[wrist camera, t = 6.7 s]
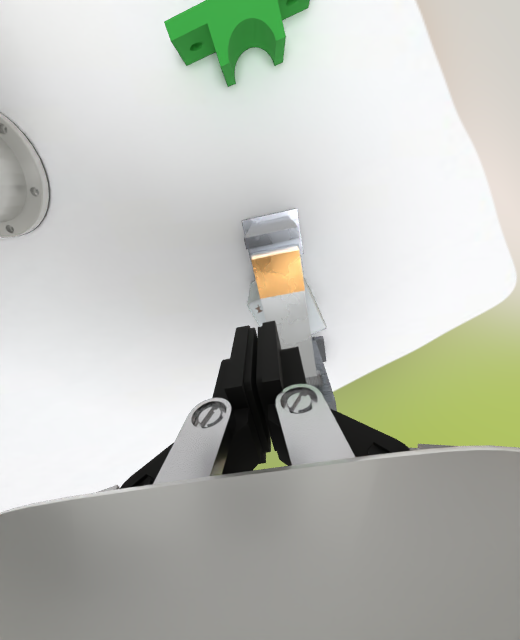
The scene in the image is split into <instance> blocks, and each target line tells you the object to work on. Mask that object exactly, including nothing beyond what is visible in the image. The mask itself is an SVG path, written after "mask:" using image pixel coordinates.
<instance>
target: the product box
mask: <svg viewBox="0 0 520 640" xmlns="http://www.w3.org/2000/svg"><path fill="white" fill-rule="evenodd" d="M303 280H304V287H305V297H306V304H307V311H308V318H309V325H310V331H311V335H312V334H314V333H317V332H319V331H321V330H324V329H326V325H325V322H324V320H323V317H322V315H321V313H320V311H319V308H318V306H317V304H316V302H315V300H314V297H313V295H312V293H311V291H310V289H309V287H308V285H307V283H306V281H305V279H304V277H303ZM247 306H248V308H249V310H250V311H251V313H252V315H253V316H254V318H255V320H256V321H257V323H258V325H259V326H260V327H261V326H262V323H264V322H266V319H265V315H264V310H263V306H262V301H261V299H260V296H259V291H258V287H257V283H256V281H254V282H252V283H251V285H250V291H249V298H248V304H247Z"/></svg>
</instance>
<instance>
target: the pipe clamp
mask: <svg viewBox="0 0 520 640" xmlns="http://www.w3.org/2000/svg"><path fill="white" fill-rule="evenodd" d="M309 1H310V0H206V1H204V2H202V3H200V4H198V5H196V6H194V7H192V8H190V9H188V10H186V11H184V12H182V13H180V14H178V15H176V16H174V17H173V18H171V19H169V20H167V21H165V22H164V23H165V26H166V28H167V31H168V34H169V37H170V40H171V42H172V43H173V45H174V47H175V48H176V50H177V51H178V53H179V54H180V56H181V58H182V59H183V61H184V62H185V64H186V65H189V64H192V63H194V62H196V61H198V60H200V59H202V58H204V57H206V56H208V55H210V54H213V53H215V52H216V53H217V56H218V60H219V63H220V66H221V69H222V72H223V74H224V77H225V80H226V82H227V85H228V87H229V86H231V85H233V84H236V83H235V76H234V71H235V65H236V62H237V60H238V58H239V56H240V55H241V54H242V53H243V52H244V51H245V50H247V49H249V48H252V47H258V48H261V49H263V50H265V51H266V52H267V53H268V54H269V55H270V56H271V58H272V60H273V62H274V65H275V66H276V65H278V64H280V63H282V62H283V55H284V46H285V37H286V36H285V32H284V27H283V23H282V20H284V19H286V18H288V17H290V16H292V15H294V14H296V13H298V12H301V11H303V10H305V9H307V8H308V6H309Z"/></svg>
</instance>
